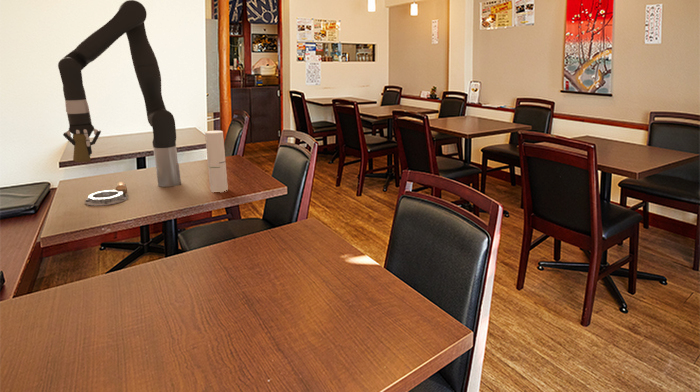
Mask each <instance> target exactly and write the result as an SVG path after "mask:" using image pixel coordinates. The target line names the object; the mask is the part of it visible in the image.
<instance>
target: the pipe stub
mask: <svg viewBox="0 0 700 392" xmlns="http://www.w3.org/2000/svg"><path fill="white" fill-rule="evenodd" d="M115 190H120V191H123V194H126V195H127V192H128V188H127V186H126V183H125V182H123V181H119V182H117V184H116V187H115Z"/></svg>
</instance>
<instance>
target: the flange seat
mask: <svg viewBox="0 0 700 392" xmlns="http://www.w3.org/2000/svg"><path fill="white" fill-rule="evenodd" d="M87 196H88V197H87V199H85V200H84V204H85V205H86V206H88V207H107V206H113V205H117V204H120V203H123V202H125V201H127V200H128V198H129V197H128V195H127V193H126V194H123V191H120V190H116V189H108V190H107V189H105V190H101V191H96V192H93V193H91V194H89V195H87Z"/></svg>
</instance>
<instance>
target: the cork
mask: <svg viewBox="0 0 700 392" xmlns="http://www.w3.org/2000/svg"><path fill="white" fill-rule="evenodd" d="M72 138H73V140H74V141H75V146H74V145H73V156H72V157H73V158H72V162H75V163H88V162H91V161H92V160H91V155H90V156H89V154H88V149H87V144H86V138H87V137H86V136H85V135H84V134H81V133H80V134H74V135H73V134H72Z"/></svg>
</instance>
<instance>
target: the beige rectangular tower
mask: <svg viewBox="0 0 700 392" xmlns="http://www.w3.org/2000/svg"><path fill="white" fill-rule="evenodd" d="M204 138H205V149H206V159H207V167H208V178H209V188H210V192H211V193H214V192H220V193H225V192H227V191H229V187H228V175H227V173H228V172H227V164H226V163H227V162H226V151H225V139H224V131H223V130H207V131H205V132H204ZM226 190H227V191H226ZM224 191H225V192H224Z"/></svg>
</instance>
